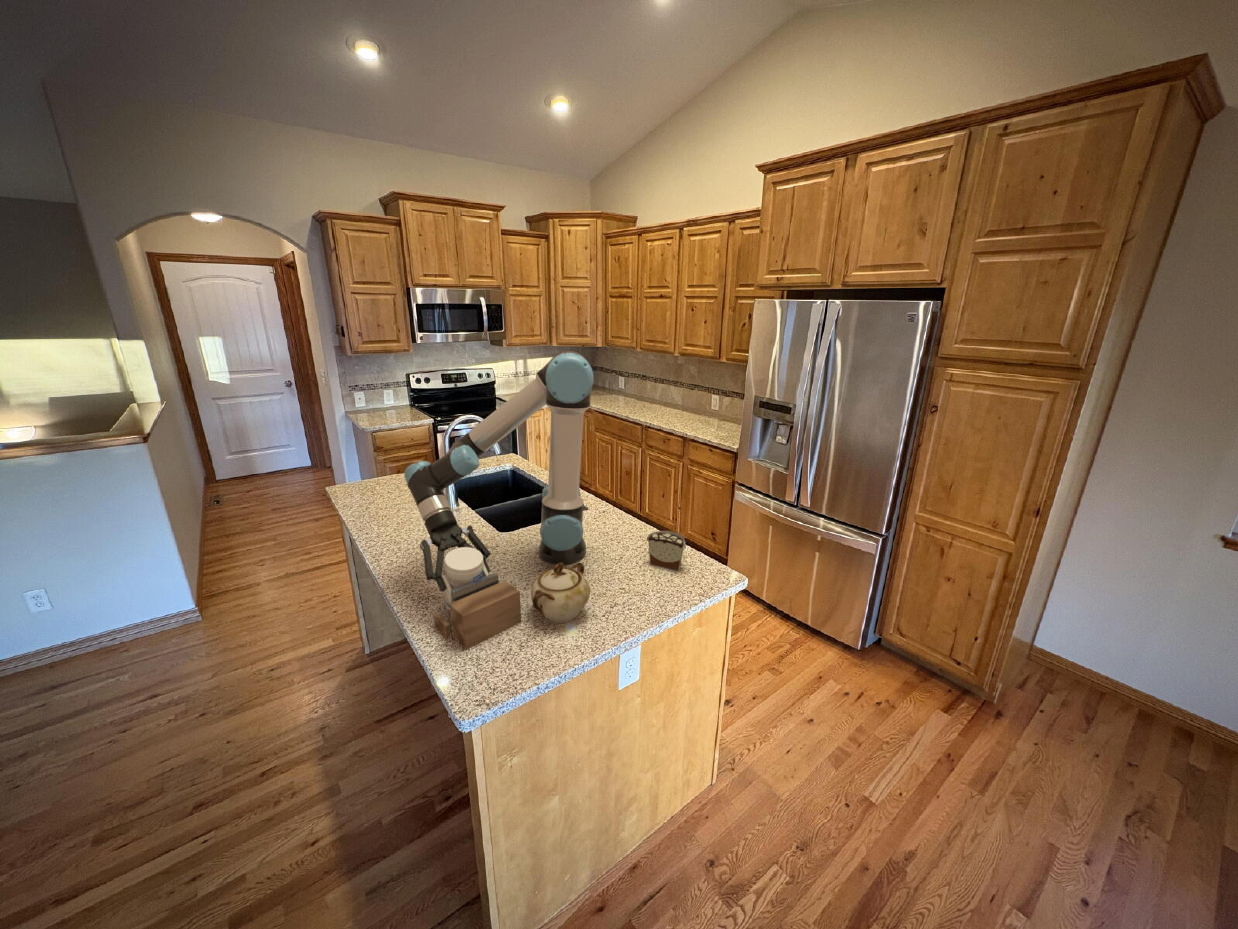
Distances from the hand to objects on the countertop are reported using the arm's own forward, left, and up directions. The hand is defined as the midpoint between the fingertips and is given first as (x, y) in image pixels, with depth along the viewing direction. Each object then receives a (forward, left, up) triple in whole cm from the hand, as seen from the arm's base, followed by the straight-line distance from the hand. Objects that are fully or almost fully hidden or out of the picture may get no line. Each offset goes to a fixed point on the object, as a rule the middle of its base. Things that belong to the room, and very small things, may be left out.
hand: (471, 593), depth 122 cm
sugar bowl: (-22, +2, -7) cm, 23 cm away
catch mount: (-2, +3, -7) cm, 8 cm away
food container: (-56, -19, -7) cm, 60 cm away
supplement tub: (+3, -5, -6) cm, 8 cm away
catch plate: (-1, +2, -6) cm, 6 cm away
